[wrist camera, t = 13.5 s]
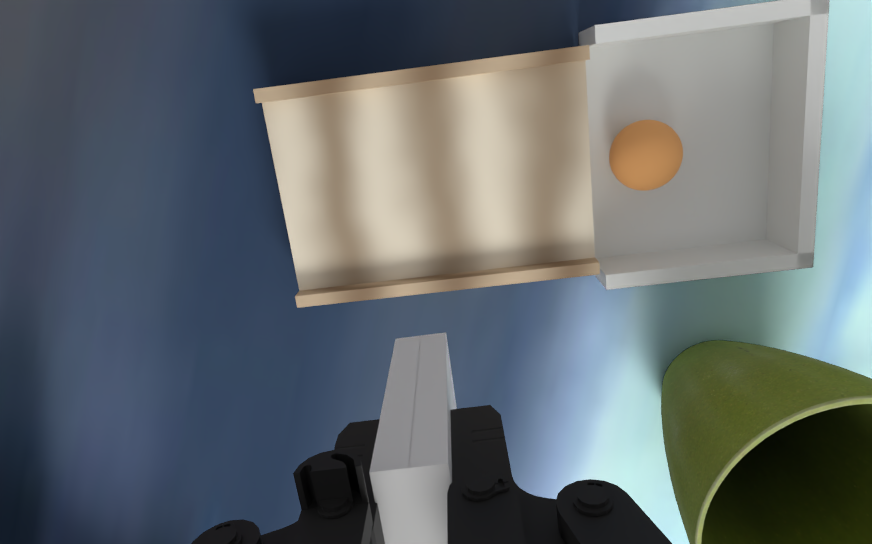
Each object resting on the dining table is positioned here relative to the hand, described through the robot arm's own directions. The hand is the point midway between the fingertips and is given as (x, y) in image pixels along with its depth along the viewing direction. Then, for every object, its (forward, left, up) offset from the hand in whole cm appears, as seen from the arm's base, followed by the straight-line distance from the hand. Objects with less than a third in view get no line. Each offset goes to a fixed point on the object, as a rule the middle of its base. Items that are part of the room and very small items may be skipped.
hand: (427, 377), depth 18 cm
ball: (+13, +3, -22) cm, 26 cm away
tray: (+17, +3, -25) cm, 30 cm away
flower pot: (+19, -15, -25) cm, 35 cm away
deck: (0, +3, -25) cm, 25 cm away
